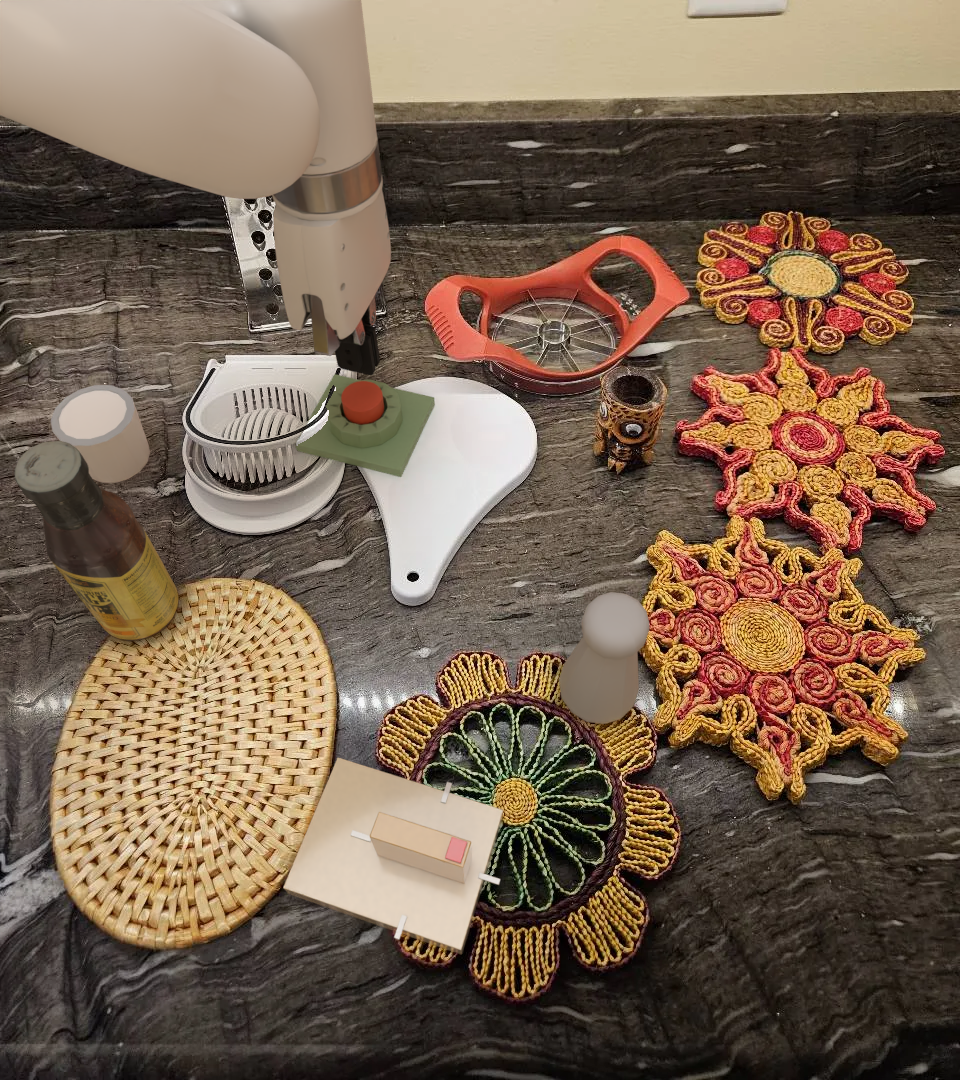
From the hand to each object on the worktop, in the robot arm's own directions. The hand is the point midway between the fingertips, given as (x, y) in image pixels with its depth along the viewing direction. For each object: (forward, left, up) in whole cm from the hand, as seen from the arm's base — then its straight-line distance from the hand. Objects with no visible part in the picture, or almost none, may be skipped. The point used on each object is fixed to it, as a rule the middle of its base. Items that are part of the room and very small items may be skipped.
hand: (359, 365), depth 72 cm
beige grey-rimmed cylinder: (-20, -10, -9) cm, 24 cm away
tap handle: (+18, -35, -6) cm, 39 cm away
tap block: (+16, -35, -9) cm, 39 cm away
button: (0, 0, -5) cm, 5 cm away
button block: (0, 0, -9) cm, 9 cm away
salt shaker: (+26, -19, -9) cm, 33 cm away
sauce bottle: (-10, -23, -9) cm, 27 cm away
